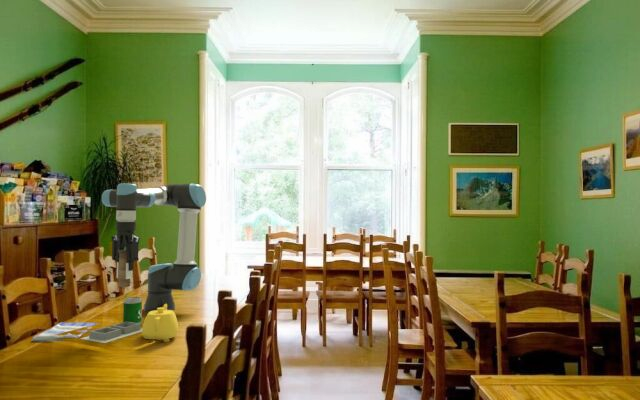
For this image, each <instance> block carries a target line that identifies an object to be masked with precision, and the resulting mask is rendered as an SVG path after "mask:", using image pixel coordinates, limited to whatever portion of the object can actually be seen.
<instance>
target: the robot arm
mask: <svg viewBox="0 0 640 400" xmlns="http://www.w3.org/2000/svg"><path fill="white" fill-rule="evenodd" d="M137 186H138V185H137V184H135V183H118V185H117V186H116V189H106V190H104V191H102V194H101V202H102V204H103V206H105V207H110V208H116V209H115V210H116V211H115V212H116V213H115V220H116V222H115V231H117V232H116V234H115V235H112V236H111V242H112V243H111V248H112V249H111V259H112V261H114V262H115V269H116V276H115V278H116V279H118V278H119V252H118V250H121V249H126V250H127V260H128V262H127V263H126V279H130V280H132V279H133V271H134V263H135V262H138V261H139V246H140V241H141V238H140V236H136V235H135V231H136V230H137V229H136V228H137V224H136V223H137V222H135V221H137V208H145V209H147V208H151V207H152V206H153V205H156V206H170V207H177V209H176V210H177V211H178V212H179V224H178V236H177V237H178V238H177V252H176V260H175V261H174V262H173V263H170V262H168V263H160V264H153V265H150V266H149V267H148V271H147V295H146V299H145V302H144V304H143V311H144V312H147V313H149V312H150V311H154V310H157V308H160V307H163V306H164V304H167V310H173V311H174V310H175V309H176V304H175V301H174V296H173V290H174V291H184V292H186V291H193V290H195V289H197V287H198V286H199V284H200V282H201V280H202V279H201V278H202V271H201V268H199V267H198V263H197V262H196V261H195V254H196V239H197V224H198V223H197V222H198V214H199V213H200V212H202V210H201V209H202V207H204V206H205V205H206V201H207V195H206V191H205V189H204V187H203V186H202V185H200V184H197V183H173V184H172V183H171V184H166V185H157V186H154V187H151V188H138V187H137Z"/></svg>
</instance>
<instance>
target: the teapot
mask: <svg viewBox="0 0 640 400" xmlns="http://www.w3.org/2000/svg"><path fill="white" fill-rule="evenodd" d="M142 323H143V324H142V327H141V328H142V332H141V335H142V337H143V339H145V340H151V341H148V342H147V343H149V344H151V342H152V343H154V342H155V340H163V341H162V342H163V343H170V342H171V340H170V339H171V338H174V337H175V336H177V335H176V334H177V333H178V330H179V322H178V319H177V315H176V313H175V311H174V310H167V304H164V306H163V307H160V308H157V310H154V311H150V312H147V315H146V317H145V319H144V321H143V322H142ZM169 341H170V342H169Z"/></svg>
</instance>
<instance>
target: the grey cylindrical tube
mask: <svg viewBox="0 0 640 400" xmlns="http://www.w3.org/2000/svg"><path fill="white" fill-rule="evenodd" d="M118 252H119V278H117V280H118V283H117V284H118V286H117V287H118V288H130V286H131V279H126V263H127V262H128V260H127V250H126V248H124V249H121V250H118Z"/></svg>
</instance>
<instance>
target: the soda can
mask: <svg viewBox="0 0 640 400" xmlns="http://www.w3.org/2000/svg"><path fill="white" fill-rule="evenodd" d="M122 305H123V306H122V307H123V309H122V323H123V322H126V321H127V322H133V323H140V324H142V323H143V322H142V321H143V320H142V318H143V317H142V316H143V315H142V314H143V313H142V312H143V299H142V298H141V297H139V296H128V297H126V298H125V299H124V300H123V303H122Z"/></svg>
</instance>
